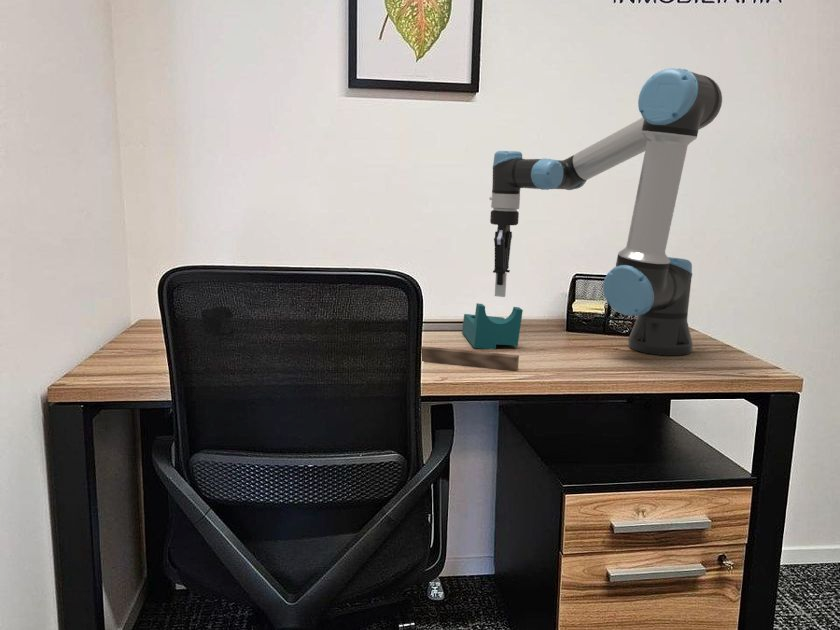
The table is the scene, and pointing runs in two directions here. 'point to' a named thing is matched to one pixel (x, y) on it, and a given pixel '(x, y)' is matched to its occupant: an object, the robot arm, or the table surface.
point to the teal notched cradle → (492, 328)
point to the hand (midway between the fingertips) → (500, 296)
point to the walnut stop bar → (470, 358)
